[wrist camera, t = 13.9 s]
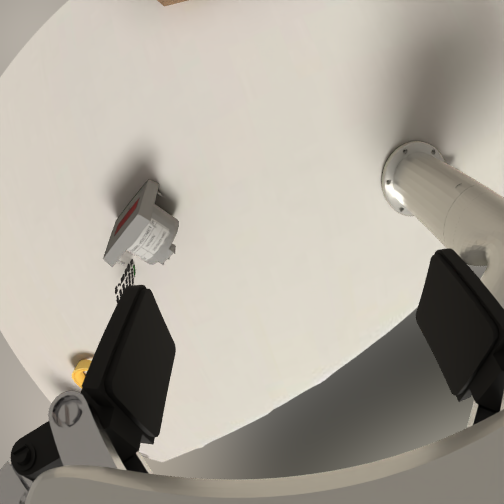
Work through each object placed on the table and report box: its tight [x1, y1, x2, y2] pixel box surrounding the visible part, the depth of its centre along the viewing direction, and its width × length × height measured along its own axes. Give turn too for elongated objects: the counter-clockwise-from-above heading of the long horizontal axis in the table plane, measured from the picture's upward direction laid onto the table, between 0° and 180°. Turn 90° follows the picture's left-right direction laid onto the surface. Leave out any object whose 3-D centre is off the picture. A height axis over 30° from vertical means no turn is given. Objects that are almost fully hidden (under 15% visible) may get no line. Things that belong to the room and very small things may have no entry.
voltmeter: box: [103, 179, 179, 303], centre depth 43 cm, size 27×11×10 cm, turn 169°
